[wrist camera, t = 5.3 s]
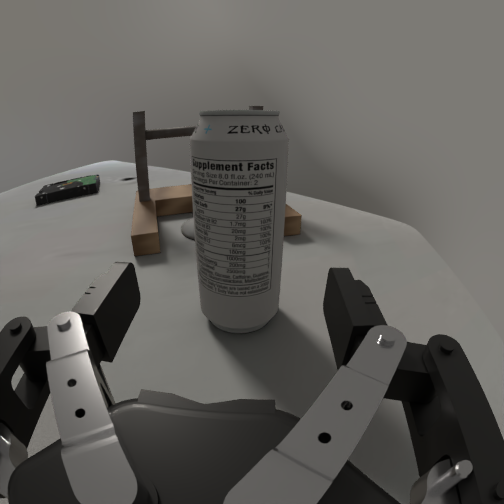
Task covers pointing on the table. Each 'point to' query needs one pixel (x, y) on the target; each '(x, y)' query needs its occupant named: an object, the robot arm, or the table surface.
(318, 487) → the robot arm
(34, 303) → the table surface
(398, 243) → the table surface
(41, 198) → the disk drive
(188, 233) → the wooden crossbar stand
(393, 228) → the table surface
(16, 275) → the table surface
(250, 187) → the energy drink can
